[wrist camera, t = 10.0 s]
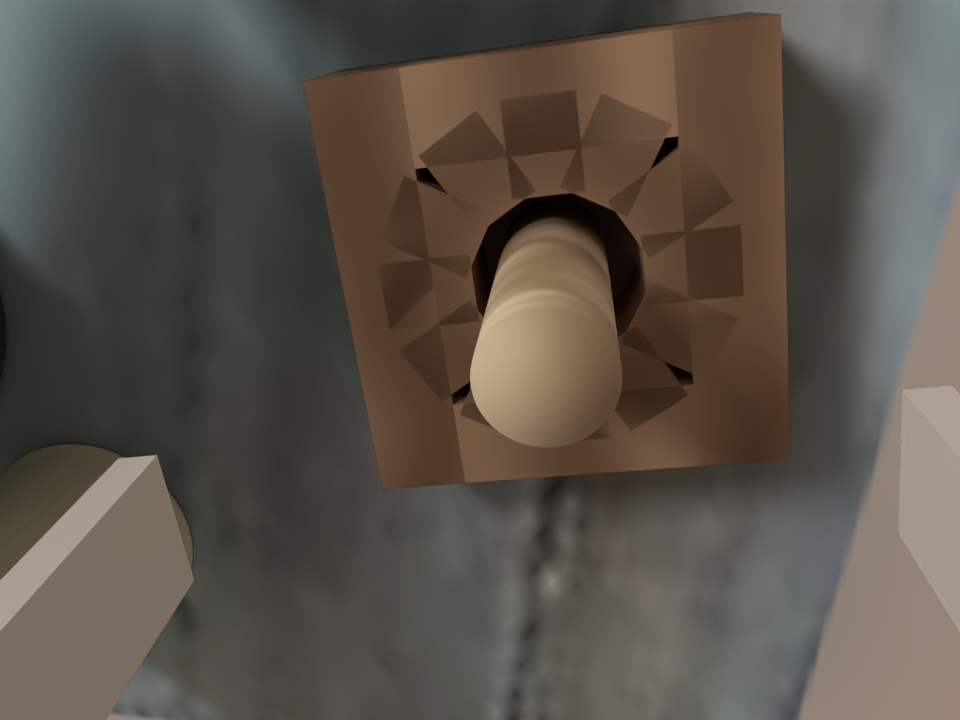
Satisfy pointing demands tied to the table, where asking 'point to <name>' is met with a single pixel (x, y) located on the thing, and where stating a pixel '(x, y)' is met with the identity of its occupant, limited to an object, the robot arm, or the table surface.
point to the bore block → (615, 205)
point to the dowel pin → (549, 331)
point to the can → (53, 496)
